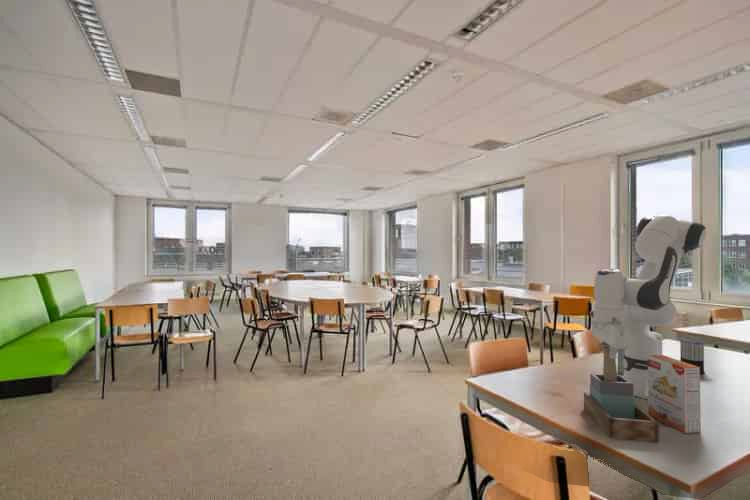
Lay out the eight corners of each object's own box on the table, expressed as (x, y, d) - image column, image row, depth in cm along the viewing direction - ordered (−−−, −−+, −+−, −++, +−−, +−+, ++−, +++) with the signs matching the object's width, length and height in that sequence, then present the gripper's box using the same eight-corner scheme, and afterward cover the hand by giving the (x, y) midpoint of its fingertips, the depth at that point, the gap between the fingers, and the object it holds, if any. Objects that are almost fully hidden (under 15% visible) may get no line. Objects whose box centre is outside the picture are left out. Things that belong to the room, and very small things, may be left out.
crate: (620, 408, 130) (620, 374, 130) (634, 421, 121) (634, 384, 121) (589, 406, 132) (589, 372, 132) (601, 418, 122) (600, 382, 123)
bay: (624, 411, 131) (623, 394, 131) (658, 443, 110) (658, 422, 110) (584, 408, 134) (583, 392, 134) (610, 438, 112) (609, 418, 112)
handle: (618, 392, 123) (616, 346, 124) (597, 388, 128) (595, 344, 129) (624, 390, 126) (622, 345, 127) (603, 386, 131) (601, 343, 132)
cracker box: (646, 414, 129) (646, 354, 129) (663, 414, 129) (662, 354, 130) (683, 434, 115) (683, 366, 115) (701, 433, 115) (701, 366, 116)
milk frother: (710, 374, 172) (710, 342, 172) (675, 374, 173) (675, 342, 173) (686, 365, 186) (685, 335, 186) (653, 365, 187) (653, 335, 187)
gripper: (633, 321, 117) (634, 365, 117) (606, 311, 137) (607, 349, 137) (611, 321, 119) (612, 364, 118) (588, 311, 139) (588, 348, 139)
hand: (609, 356), depth 128 cm, fingers closed on handle, 4 cm apart
